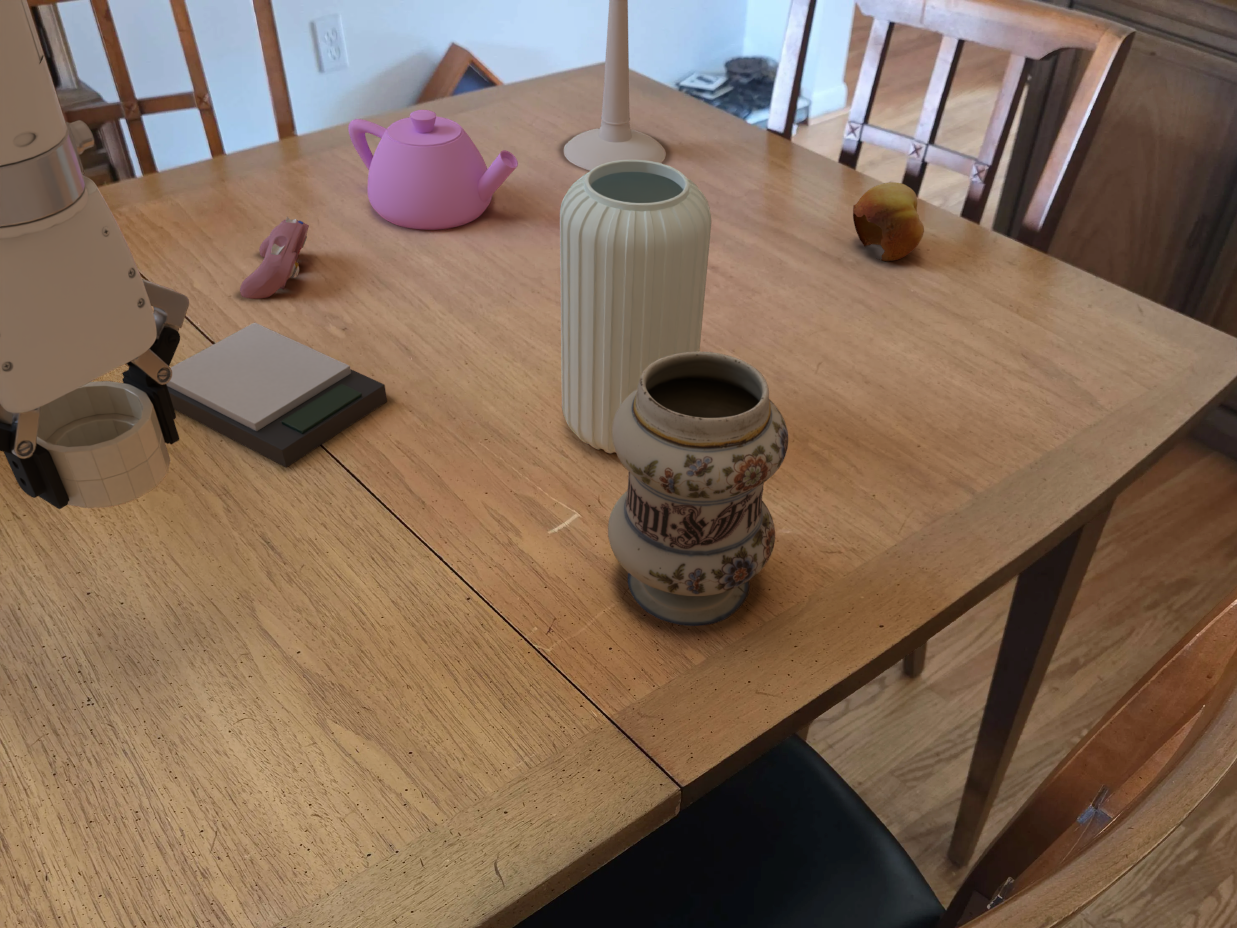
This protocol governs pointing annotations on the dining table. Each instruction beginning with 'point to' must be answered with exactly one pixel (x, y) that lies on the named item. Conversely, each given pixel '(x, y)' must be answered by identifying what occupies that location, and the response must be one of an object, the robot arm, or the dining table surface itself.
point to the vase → (627, 284)
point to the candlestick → (614, 107)
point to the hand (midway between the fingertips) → (105, 463)
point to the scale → (272, 393)
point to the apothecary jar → (695, 485)
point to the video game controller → (276, 260)
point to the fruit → (889, 219)
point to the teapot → (428, 171)
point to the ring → (104, 443)
